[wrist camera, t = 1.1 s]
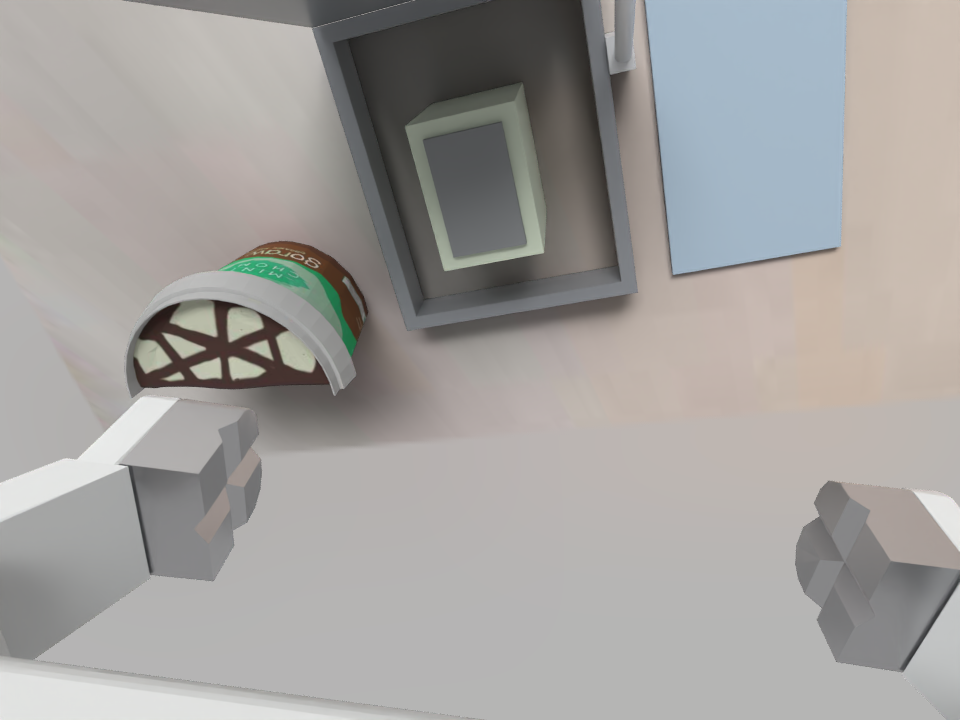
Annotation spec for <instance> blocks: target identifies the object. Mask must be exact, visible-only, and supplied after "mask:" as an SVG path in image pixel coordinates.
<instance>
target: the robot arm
mask: <svg viewBox="0 0 960 720" xmlns="http://www.w3.org/2000/svg"><path fill="white" fill-rule="evenodd" d="M258 435H259V431H258V422H257V415H256V413H255V412H254V411H253V410H252V409H251V408H244V407H238V406H231V405H224V404H217V403H210V402H203V401H196V400H189V399H181V398H175V397H166V396H158V395H147V396H142V397H141V398H140V399H139V400H138V401H136V402H135V403H134V404H133V405H132V406H131V407H130V408H129V409H128V410H127V411H126V412H125V413H124V414H123V415H122V416H121V417H120V418H119V419H118V420H117V421H116V422H115V423H114V424H113V425H112V426H111V427H110V428H109V429H108V430H107V431H105V432H104V433H103V434H102V435H101V436H100V437H99V439H97V440H96V441H95V442H94V443H93V444H92V445H91V446H90V447H89V448H88V449H87V450H86V451H85V452H84V453H83V454H82V455H81V456H80V457H79V458H78V459H77V460H75V459H66V458H65V459H62V460H59V461H57V462H54V463H51V464H49V465H46V466H43V467H41V468H38V469H36V470H33V471H30V472H28V473H25V474H22V475H20V476H17V477H15V478H12V479H9V480H7V481H4V482H1V483H0V720H481V719H474V718H467V717H460V716H452V715H444V714H436V713H429V712H422V711H414V710H407V709H398V708H391V707H384V706H377V705H369V704H362V703H354V702H347V701H346V702H345V701H339V700H331V699H323V698H316V697H308V696H301V695H293V694H286V693H279V692H271V691H264V690H256V689H248V688H241V687H234V686H226V685H219V684H211V683H203V682H195V681H189V680H181V679H173V678H166V677H158V676H151V675H143V674H136V673H128V672H120V671H113V670H106V669H98V668H90V667H83V666H76V665H68V664H60V663H53V662H45V661H38V660H34V659H35V658H37V657H38V656H39V655H41V654H42V653H44V652H45V651H47V650H48V649H49V648H51V647H52V646H54V645H55V644H57V643H58V642H59V641H61V640H62V639H64V638H65V637H67V636H68V635H70V634H71V633H72V632H74V631H75V630H76V629H78V628H80V627H81V626H83V625H84V624H85V623H87V622H88V621H90V620H91V619H93V618H94V617H95V616H97V615H98V614H100V613H101V612H102V611H104V610H105V609H107V608H108V607H110V606H111V605H113V604H114V603H116V602H117V601H119V600H120V599H121V598H123V597H124V596H126V595H127V594H129V593H130V592H131V591H133V590H134V589H136V588H137V587H139V586H140V585H141V584H143V583H144V582H146V581H147V580H149V579H150V575H158V576H167V577H177V578H187V579H197V580H206V581H214V580H215V578H216V576H217V574H218V572H219V571H220V569H221V567H222V566H223V564H224V562H225V560H226V559H227V557H228V555H229V553H230V552H231V550H232V548H233V546H234V538H233V530H235V529H236V528H238V527H240V526H242V525H243V524H245V523H247V522H248V520H249V518H250V516H251V514H252V512H253V510H254V508H255V506H256V502H257V499H258V495H259V492H260V488H261V487H260V486H261V477H262V469H261V459H260V457H259V456H258V455H257V454H256V453H255V451H254V450H253V449H252V448H251V445H252V444H253V442H254V441H255V439H256V438H257V436H258ZM814 504H815V506H816V509H817V511H818V514H819V517H818V518H816V519H815V520H813V521H812V522H810V523H809V524H807V525H806V526H804V527H803V530H802V532H801V535H800V537H799V540H798V542H797V545H796V561H795V565H796V570H797V575H798V579H799V582H800V584H801V586H802V588H803V591H804V593H805V594H806V595H807V596H808V597H810V598H811V599H812V600H813V601H814V602H815V603H817V604H818V605H819V606H820V607H821V608H822V609H821V612H820V614H819V616H818V618H817V621H818V623H819V626H820V628H821V630H822V632H823V634H824V636H825V639H826V641H827V643H828V645H829V647H830V649H831V651H832V653H833V656H834V658H835V660H836V662H840V663H846V664H853V665H859V666H865V667H872V668H878V669H885V670H891V671H897V672H903V674H902V676H903V677H904V678H905V679H906V680H907V681H908V682H909V683H910V684H911V685H912V686H913V687H914V688H915V689H916V690H917V691H918V692H919V693H920V694H921V695H922V696H923V697H924V698H925V699H926V700H927V701H928V702H929V703H930V704H931V705H932V706H933V707H934V708H935V709H936V710H937V711H938V712H939V713H941V715H942V716H943V717H945V718H946V719H947V720H960V507H959V506H958V505H957V504H956V503H955V502H954V500H953V499H952V498H951V497H949V496H947V495H945V494H943V493H942V492H939V491H929V490H917V489H907V488H902V489H898V488H889V487H881V486H872V485H863V484H854V483H853V484H852V483H845V482H835V481H828V482H827V483H826V484H825V485H824V486H823V487H822V488H821V489H820V491H819V493H818V495H817V498H816V500H815V502H814Z"/></svg>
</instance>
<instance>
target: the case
mask: <svg viewBox="0 0 960 720" xmlns="http://www.w3.org/2000/svg"><path fill="white" fill-rule="evenodd" d="M489 1H493V0H415V1H411V2H407V3H404V4H400V5H397V6H393V7H389V8H386V9H382V10H378V11H375V12H371V13H367V14H364V15H360V16H356V17H353V18H349V19H346V20H342V21H338V22H335V23H331V24H327V25H324V26H320V27H316V28H313V29H312V30H313V33H314V36H315V39H316V43H317V46H318V49H319V52H320V55H321V58H322V62H323V65H324V68H325V71H326V74H327V78H328V81H329V84H330V87H331V90H332V93H333V97H334V100H335V103H336V106H337V109H338V112H339V116H340V119H341V122H342V125H343V128H344V132H345V135H346V138H347V141H348V144H349V147H350V151H351V154H352V157H353V160H354V163H355V166H356V170H357V173H358V176H359V179H360V182H361V186H362V189H363V192H364V195H365V198H366V201H367V205H368V208H369V211H370V214H371V217H372V220H373V224H374V227H375V230H376V233H377V236H378V240H379V243H380V246H381V249H382V252H383V255H384V259H385V262H386V265H387V268H388V271H389V275H390V278H391V281H392V284H393V287H394V290H395V294H396V297H397V300H398V303H399V306H400V309H401V313H402V316H403V319H404V322H405V325H406V329H407V331H410V330H416V329H422V328H428V327H434V326H440V325H446V324H452V323H458V322H464V321H470V320H476V319H482V318H488V317H494V316H500V315H506V314H512V313H518V312H524V311H530V310H536V309H542V308H548V307H554V306H560V305H566V304H572V303H578V302H584V301H590V300H596V299H602V298H608V297H614V296H620V295H626V294H632V293H638V289H637V282H636V274H635V266H634V258H633V251H632V243H631V235H630V228H629V220H628V212H627V204H626V197H625V189H624V181H623V174H622V166H621V158H620V150H619V143H618V135H617V127H616V120H615V112H614V104H613V96H612V89H611V81H610V75H611V74H616V73H620V72H624V71H628V70H633V69H636V63H635V54H634V45H633V33H634V18H635V3H636V0H615V31H614V32H610V33H606V34H604V27H603V19H602V12H601V4H600V0H581V7H582V14H583V21H584V28H585V35H586V42H587V50H588V57H589V64H590V71H591V78H592V85H593V92H594V99H595V106H596V113H597V120H598V127H599V134H600V141H601V148H602V155H603V162H604V169H605V177H606V184H607V191H608V198H609V205H610V212H611V219H612V226H613V233H614V240H615V247H616V254H617V261H618V266H613V267H607V268H602V269H596V270H590V271H585V272H579V273H573V274H568V275H562V276H556V277H550V278H545V279H539V280H533V281H528V282H522V283H516V284H511V285H505V286H499V287H494V288H488V289H482V290H476V291H471V292H465V293H459V294H454V295H448V296H442V297H437V298H431V299H425V300H424V298H423V295H422V291H421V288H420V285H419V281H418V278H417V274H416V271H415V268H414V264H413V261H412V257H411V254H410V251H409V247H408V244H407V240H406V237H405V234H404V230H403V227H402V223H401V220H400V217H399V213H398V210H397V206H396V203H395V200H394V196H393V193H392V189H391V186H390V183H389V179H388V176H387V172H386V169H385V166H384V162H383V159H382V155H381V152H380V149H379V145H378V142H377V138H376V135H375V132H374V128H373V125H372V121H371V118H370V115H369V111H368V108H367V104H366V101H365V98H364V94H363V91H362V87H361V84H360V81H359V77H358V74H357V71H356V67H355V64H354V60H353V57H352V54H351V50H350V47H349V43H348V40H347V39H351V38H355V37H358V36H362V35H366V34H369V33H373V32H377V31H381V30H384V29H388V28H392V27H396V26H399V25H403V24H407V23H411V22H414V21H418V20H422V19H426V18H429V17H433V16H437V15H440V14H444V13H448V12H452V11H455V10H459V9H463V8H467V7H470V6H474V5H478V4H482V3H485V2H489Z"/></svg>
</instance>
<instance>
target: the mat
mask: <svg viewBox="0 0 960 720" xmlns="http://www.w3.org/2000/svg"><path fill="white" fill-rule="evenodd" d="M645 10H646V20H647V30H648V40H649V49H650V59H651V69H652V79H653V89H654V98H655V108H656V118H657V128H658V138H659V148H660V157H661V167H662V177H663V187H664V197H665V206H666V216H667V226H668V236H669V246H670V256H671V265H672V273H673V275H676V274H681V273H687V272H693V271H699V270H705V269H711V268H717V267H723V266H728V265H734V264H740V263H746V262H752V261H758V260H764V259H770V258H776V257H781V256H787V255H793V254H799V253H805V252H811V251H817V250H823V249H828V248H834V247H840V246H841V221H842V180H843V139H844V98H845V57H846V16H847V0H645Z"/></svg>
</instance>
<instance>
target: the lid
mask: <svg viewBox="0 0 960 720" xmlns="http://www.w3.org/2000/svg"><path fill="white" fill-rule="evenodd" d="M124 1H131V2H138V3H145V4H152V5H159V6H166V7H173V8H180V9H187V10H193V11H200V12H207V13H214V14H221V15H228V16H235V17H242V18H249V19H256V20H263V21H270V22H277V23H284V24H291V25H298V26H304V27H311V28H314V27H318V26H321V25H325V24H328V23H332V22H336V21H339V20H343V19H347V18H350V17H354V16H358V15H361V14H365V13H369V12H372V11H376V10H379V9H383V8H387V7H390V6H394V5H398V4H401V3H405V2H409V1H412V0H124Z"/></svg>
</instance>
